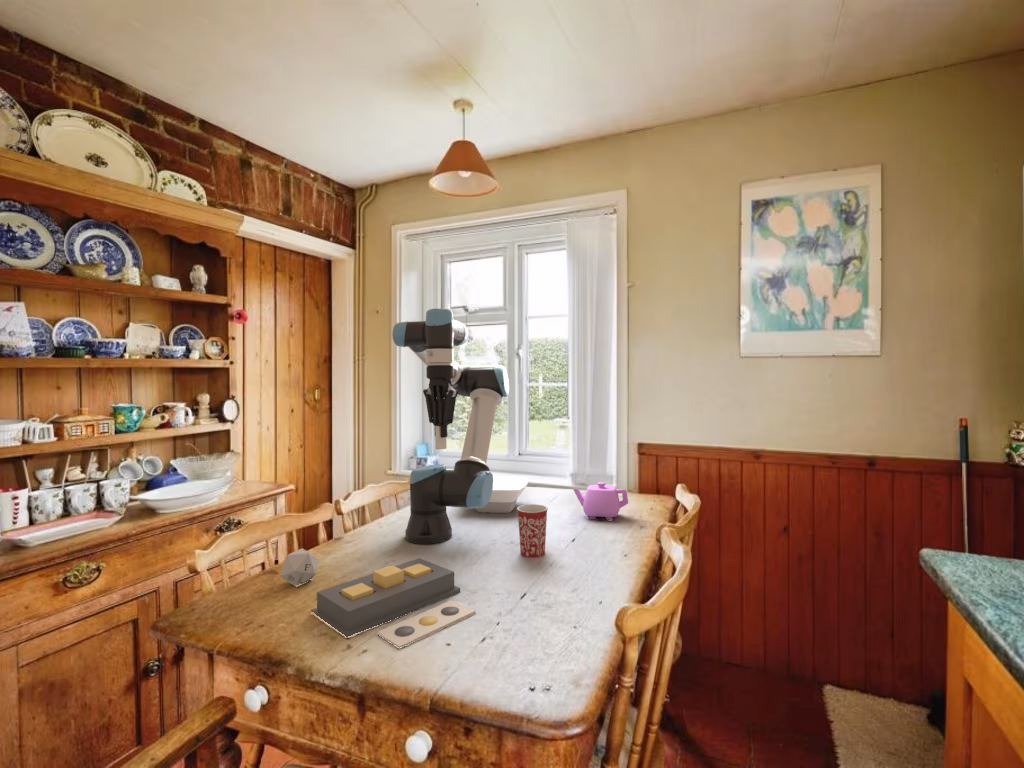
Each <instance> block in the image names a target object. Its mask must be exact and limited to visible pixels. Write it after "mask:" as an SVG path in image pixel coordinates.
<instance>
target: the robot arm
mask: <svg viewBox="0 0 1024 768" xmlns="http://www.w3.org/2000/svg"><path fill="white" fill-rule="evenodd" d="M425 314H426V315H425V320H423V321H421V320H418V321H408V320H407V321H402V322H401V321H400V322H396V323H395V324H394V325H393V327H392V328H393V329H392V334H391V336H392V340H393V343H394V344H395V346H397V347H400V348H401V347H403V348H406V347H407V348H409V349H410V351H412V352H413V353H414V354H415V355H416V357H418V359H420V361H422V362H423V364H424V365H425V366H426V367H425V369H426V378H427V379H429V381H428V382H429V383H428V387H427V388H426V389H425V388H424V389H423V390H422V393H423V395H424V397H425V403H426V404H425V405H426V410H427V417H428V423H430V424H433V426H434V438H435V439H434V441H435V450H438V451H440V450H447V437H448V426H449V425H450V424H453V422H454V414H455V406H456V402H457V397H458V396H462V397H469V398H470V400H471V401H472V405H471V410H470V415H469V419H468V423H467V428H466V431H465V436H464V437H465V438H464V441H463V442H464V443H463V446H462V447H463V448H462V452H461V455H460V456H461V457H460V459H458V460H457V461H456V462H455V463H454V467H453V469H447V466H446V465H445V464H440V463H439V464H438V463H437V464H430V465H425V466H424V465H423V466H420V467H417V468H414V469H413V470H411V472H410V475H409V495H410V496H409V499H410V500H409V503H410V505H409V506H410V513H409V514H410V515H409V518H408V522H407V525H406V529H405V532H404V533H405V537H404V538H405V540H406V541H407V542H409V543H412V544H417V545H419V544H420V545H421V544H422V545H431V544H437V543H442V542H443V543H444V542H445V541H448V540H449V539H451V538H452V537H453V528H452V525H451V522H450V518H449V516H448V512H447V507H450V508H451V507H452V508H466V509H476V508H482V507H484V506H485V505H486V504H487V503H488V501H489V500H490V497H491V494H492V490H493V477H494V476H493V472H491V471H490V466H488V465H487V461H488V455H489V450H490V444H491V440H492V439H491V438H492V432H493V429H494V424H495V423H494V422H495V416H496V411H497V407H498V406H499V405H501V404H502V401H503V398H506V397H508V396H509V392H510V383H509V376H508V372H507V369H506V368H505V366H504V365H502V364H501V365H500V364H499V365H498V364H492V365H491V364H490V365H489V364H487V365H485V364H483V365H480V364H479V365H473V364H472V365H471V364H469V365H461V364H459V363H458V362H457V361H454V360H455V359H454V347H460V346H462V345H464V344H465V343H466V342H467V340H468V339H469V329H468V327H467V326H466V325H465V324H464V323H463V322H461V321H460V320H455V319H454V315H453V311H452V310H451V309H448V308H430V309H428V310H427V311H426V313H425Z"/></svg>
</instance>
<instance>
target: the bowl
mask: <svg viewBox="0 0 1024 768" xmlns="http://www.w3.org/2000/svg"><path fill="white" fill-rule="evenodd" d="M527 485H528V479H527V478H526V477H518V476H493V490H492V494H491V497H490V500H489V501H488V503H487V504H486V505H485V506H484V507H482V508H475V509H476V511H477V512H478V513H486V512H490V513H492V514H495V513H496V514H505V513H506V514H508V513H511V512H512V511H513V510H514V509H515V507H516V505H517V500H518V499H519V497H520V496H521V494H522V493H523V492H524V490H525V489H526V488H527Z"/></svg>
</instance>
